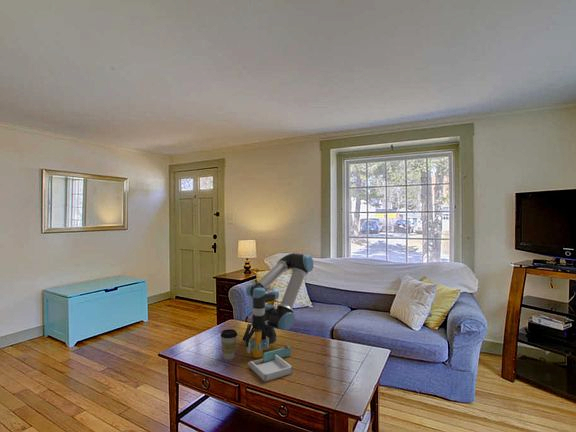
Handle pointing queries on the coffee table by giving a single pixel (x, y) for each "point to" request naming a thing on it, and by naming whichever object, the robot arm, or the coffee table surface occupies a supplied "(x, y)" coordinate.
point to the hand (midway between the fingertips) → (257, 349)
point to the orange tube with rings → (258, 345)
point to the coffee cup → (228, 343)
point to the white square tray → (271, 368)
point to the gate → (280, 352)
